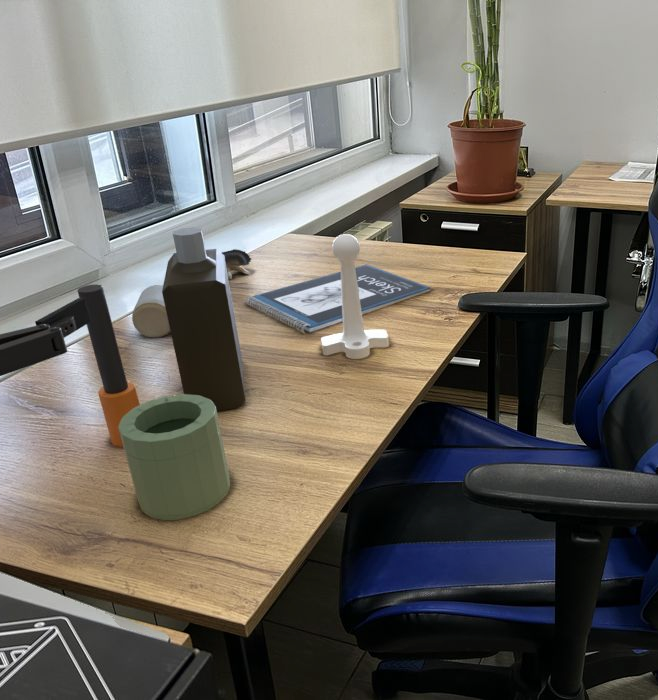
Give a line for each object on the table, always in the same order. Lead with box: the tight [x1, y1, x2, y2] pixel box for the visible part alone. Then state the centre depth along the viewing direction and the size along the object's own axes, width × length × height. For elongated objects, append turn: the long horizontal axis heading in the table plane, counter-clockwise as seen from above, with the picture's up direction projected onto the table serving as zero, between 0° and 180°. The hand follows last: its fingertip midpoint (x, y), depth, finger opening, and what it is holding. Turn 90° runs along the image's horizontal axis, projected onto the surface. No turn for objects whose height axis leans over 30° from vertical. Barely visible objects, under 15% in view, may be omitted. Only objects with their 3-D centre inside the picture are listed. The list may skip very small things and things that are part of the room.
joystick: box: [320, 233, 390, 360], centre depth 115 cm, size 11×8×20 cm
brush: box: [77, 284, 141, 448], centre depth 91 cm, size 4×4×22 cm
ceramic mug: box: [131, 284, 171, 339], centre depth 127 cm, size 11×8×8 cm
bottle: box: [162, 226, 246, 413], centre depth 103 cm, size 8×16×25 cm, turn 18°
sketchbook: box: [245, 264, 432, 334], centre depth 141 cm, size 22×30×2 cm
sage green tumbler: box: [118, 393, 231, 521], centre depth 82 cm, size 10×10×11 cm
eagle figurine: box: [221, 248, 252, 280], centre depth 153 cm, size 8×7×9 cm
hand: (29, 306), depth 77 cm, fingers open, 13 cm apart
